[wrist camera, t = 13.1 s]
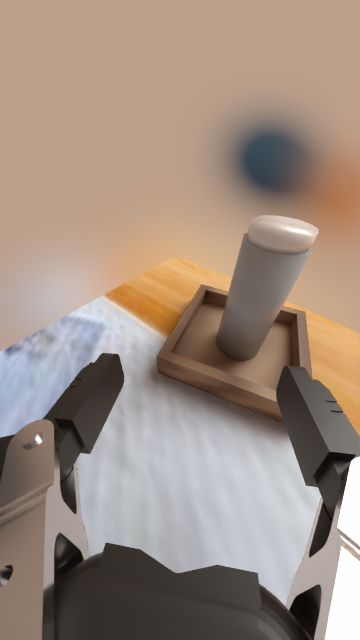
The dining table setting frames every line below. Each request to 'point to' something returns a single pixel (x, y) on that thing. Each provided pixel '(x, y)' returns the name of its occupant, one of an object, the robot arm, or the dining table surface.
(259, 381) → the tray
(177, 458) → the dining table surface
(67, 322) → the dining table surface
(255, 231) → the salt shaker
